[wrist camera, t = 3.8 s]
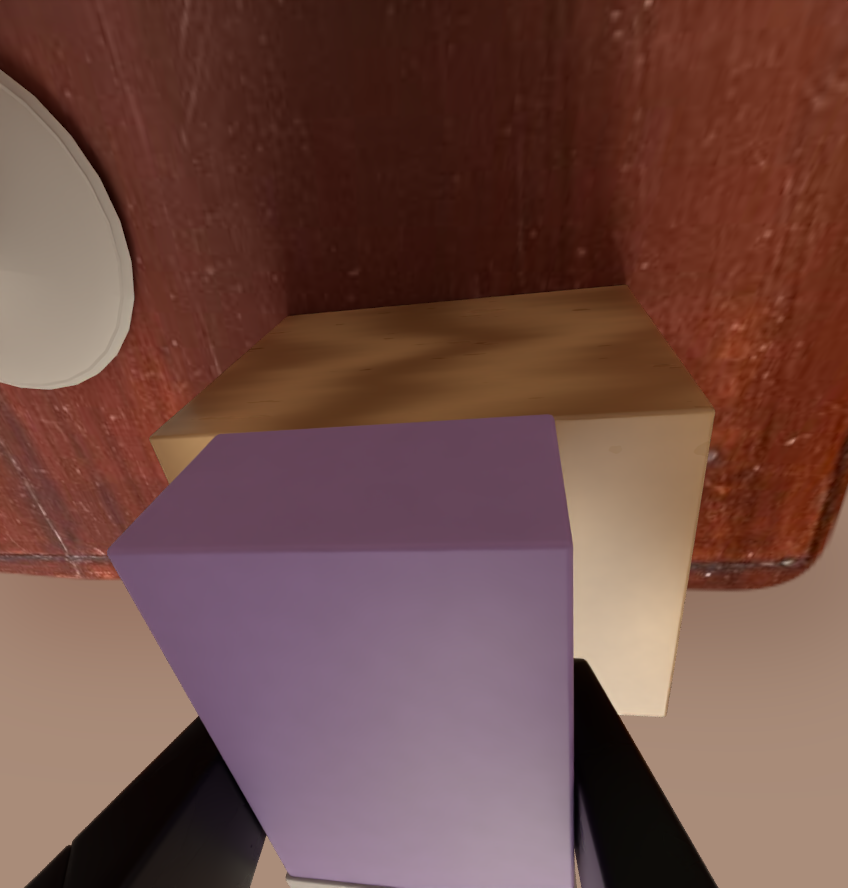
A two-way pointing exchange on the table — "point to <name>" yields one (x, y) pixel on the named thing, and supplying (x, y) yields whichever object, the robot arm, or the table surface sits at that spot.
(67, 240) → the chalice
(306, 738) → the chocolate bar
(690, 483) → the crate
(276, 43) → the table surface
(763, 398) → the table surface
